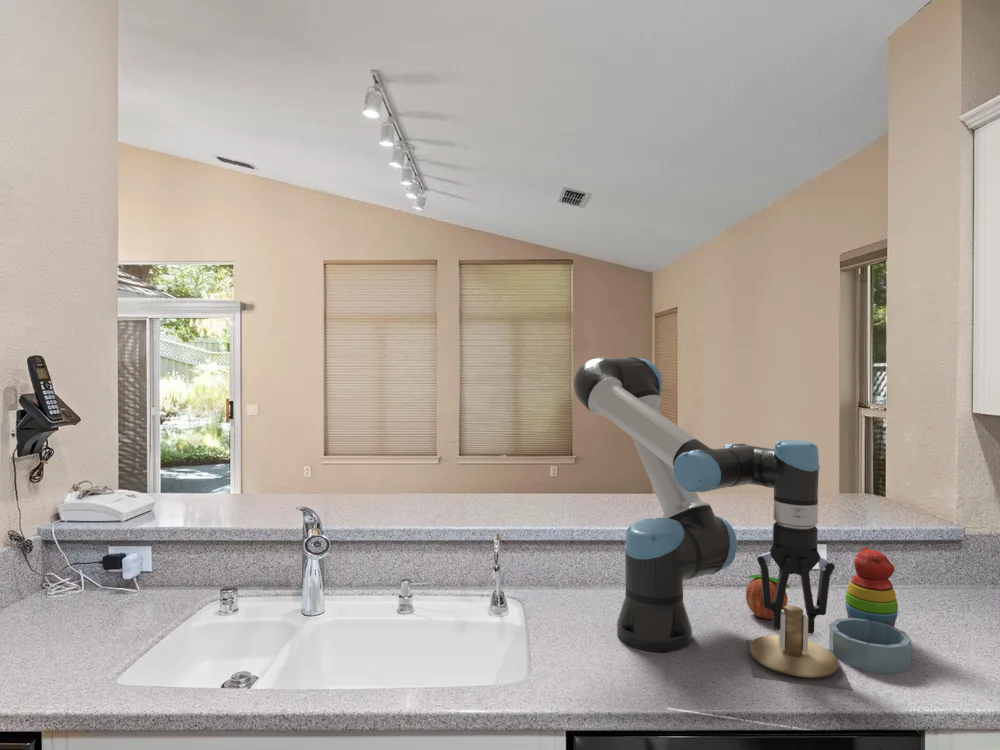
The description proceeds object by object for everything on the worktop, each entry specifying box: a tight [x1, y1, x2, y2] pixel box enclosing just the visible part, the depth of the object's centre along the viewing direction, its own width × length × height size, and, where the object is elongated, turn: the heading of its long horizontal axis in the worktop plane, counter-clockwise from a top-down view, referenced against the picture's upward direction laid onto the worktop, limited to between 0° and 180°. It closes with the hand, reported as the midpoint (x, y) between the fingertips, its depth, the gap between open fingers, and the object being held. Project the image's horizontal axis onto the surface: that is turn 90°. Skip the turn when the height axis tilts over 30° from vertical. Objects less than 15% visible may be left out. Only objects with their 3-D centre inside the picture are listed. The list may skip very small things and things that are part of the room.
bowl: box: [828, 617, 912, 675], centre depth 120 cm, size 13×13×5 cm
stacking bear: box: [845, 546, 899, 627], centre depth 130 cm, size 11×10×18 cm
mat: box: [745, 639, 854, 691], centre depth 117 cm, size 16×16×1 cm
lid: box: [750, 605, 839, 678], centre depth 118 cm, size 15×15×9 cm
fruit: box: [745, 574, 791, 620], centre depth 140 cm, size 9×10×10 cm
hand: (792, 647), depth 118 cm, fingers closed on lid, 3 cm apart
